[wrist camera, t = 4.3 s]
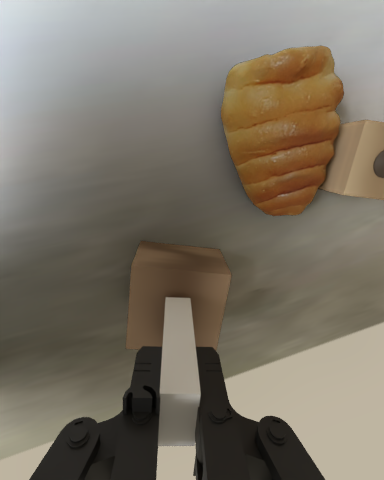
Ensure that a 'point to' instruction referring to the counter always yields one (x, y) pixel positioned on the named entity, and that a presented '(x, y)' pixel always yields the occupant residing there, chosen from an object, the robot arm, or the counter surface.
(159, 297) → the walnut block
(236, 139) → the pastry
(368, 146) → the beech block
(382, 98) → the counter surface
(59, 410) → the counter surface
